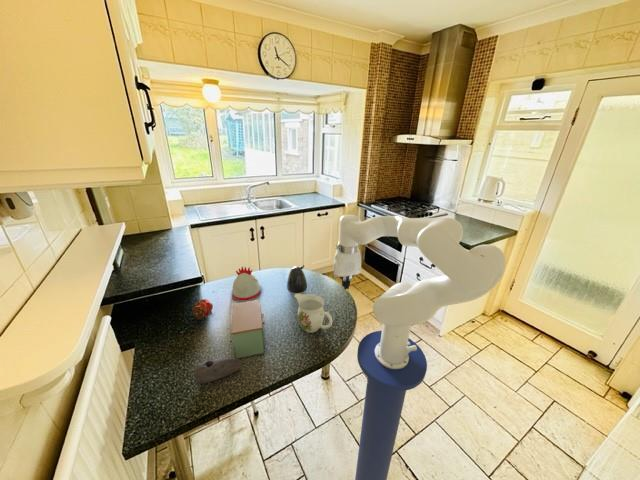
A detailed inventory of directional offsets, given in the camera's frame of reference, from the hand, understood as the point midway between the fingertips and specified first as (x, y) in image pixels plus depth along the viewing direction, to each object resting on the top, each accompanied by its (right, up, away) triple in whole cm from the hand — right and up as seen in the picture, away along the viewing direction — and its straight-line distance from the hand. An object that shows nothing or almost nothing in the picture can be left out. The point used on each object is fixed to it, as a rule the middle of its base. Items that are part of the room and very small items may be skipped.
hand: (345, 287), depth 105 cm
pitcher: (-13, -18, +4) cm, 23 cm away
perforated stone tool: (-45, -27, -17) cm, 55 cm away
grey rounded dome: (-48, -8, +27) cm, 55 cm away
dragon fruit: (-63, -15, +11) cm, 66 cm away
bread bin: (-39, -21, -2) cm, 44 cm away
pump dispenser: (-22, -8, +26) cm, 35 cm away
